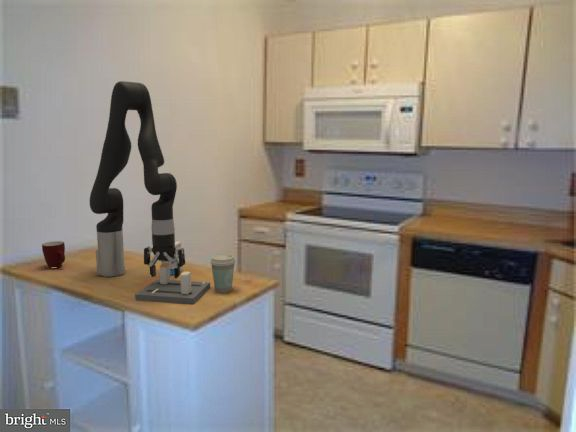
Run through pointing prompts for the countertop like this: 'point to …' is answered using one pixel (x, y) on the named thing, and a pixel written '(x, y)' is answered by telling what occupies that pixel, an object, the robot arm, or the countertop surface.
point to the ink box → (177, 246)
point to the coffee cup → (223, 272)
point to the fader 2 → (185, 282)
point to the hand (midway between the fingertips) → (165, 277)
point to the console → (172, 292)
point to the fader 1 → (165, 273)
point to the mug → (54, 253)
